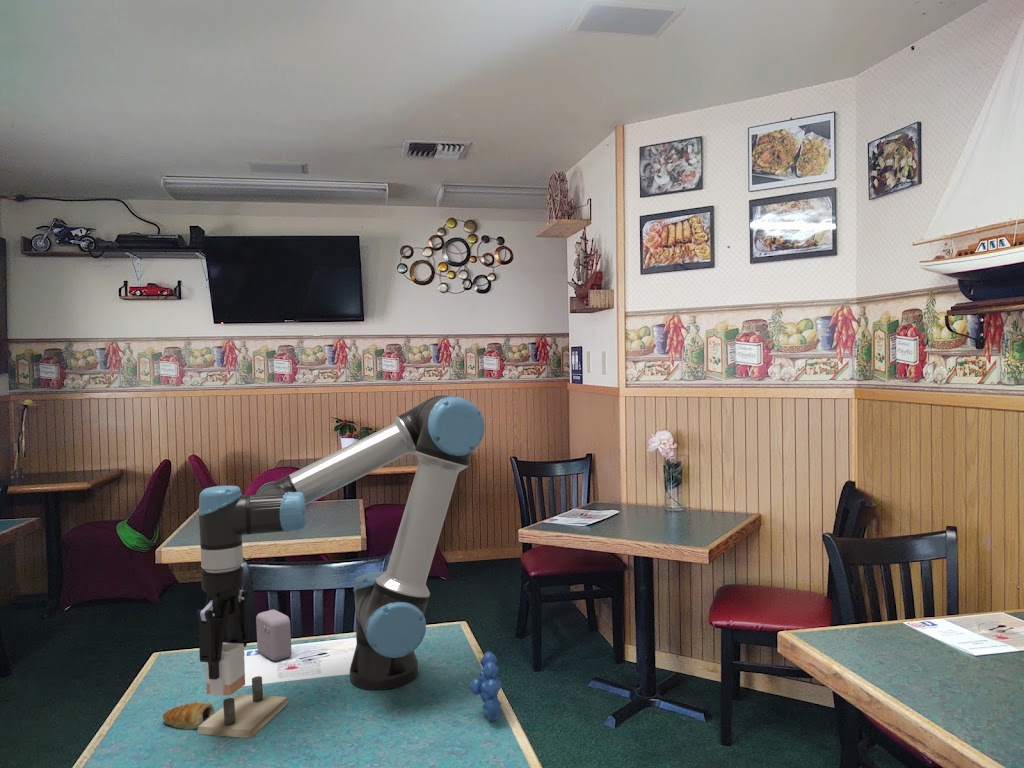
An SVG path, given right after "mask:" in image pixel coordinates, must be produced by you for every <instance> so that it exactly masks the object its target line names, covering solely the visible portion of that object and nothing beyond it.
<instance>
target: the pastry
mask: <svg viewBox="0 0 1024 768" xmlns="http://www.w3.org/2000/svg"><path fill="white" fill-rule="evenodd" d="M213 714H215V708H214V706H213V704H212V703H210V701H209V702H207V703H204V702H197V701H194V702H191V703H185V704H181V705H179V706H175V707H173V708H171V709H169V710H167V711H166V712H164V713H163V714H162V719H163V722H164V723H165V724H166V725H167V726H171V727H172V728H175V729H183V730H198V726H199V725H201V724H202V723H203V722H204V721H206V720H207V719H208V718H210V717H211V716H212V715H213Z"/></svg>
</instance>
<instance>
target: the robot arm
mask: <svg viewBox="0 0 1024 768" xmlns="http://www.w3.org/2000/svg"><path fill="white" fill-rule="evenodd" d="M484 434H485V420H484V417H483V414H482V413H481V410H480V409H479V408H478V407H477V406H476V405H475V404H474V403H473V402H471V401H470V400H468V399H466V398H463V397H460V396H456V395H452V396H449V395H436V396H433V397H430V398H428V399H426V400H424V401H423V402H421V403H420V404H418V405H416V406H414V407H412V408H411V409H409V410H407V411H405V412H404V413H402V414H400V415H397V416H396V417H395V419H394V422H393V423H392V424H390V425H388V426H386V427H384V428H382V429H380V430H378V431H376V432H373V433H371V434H370V435H368V436H365V437H363V438H361V439H359V440H357V441H354V442H352V443H351V444H349V445H347V446H345V447H343V448H341V449H339V450H337V451H334V452H332V453H331V454H329V455H326V456H325V457H323V458H320V459H318V460H316V461H314V462H312V463H310V464H309V465H306V466H304V467H303V468H300V469H299V470H296V471H293V472H292V473H290V474H288V475H286V476H284V477H282V478H280V479H278V480H276V481H269V482H267V483H264V484H263V485H261V487H259V489H257V491H256V494H255V495H242V492H241V491H242V490H241V488H240V487H239V486H238V485H217V486H211V487H207V488H203V489H202V491H201V492H200V494H198V495H199V498H198V499H199V501H198V521H199V541H200V543H199V544H200V562H201V563H200V564H201V565H200V567H201V568H202V571H201V573H200V574H201V580H200V581H201V590H202V591H203V592H205V593H206V594H207V597H206V603H205V606H204V608H203V609H197V610H196V618H197V621H198V638H199V640H198V644H199V662H200V663H206V662H208V669H209V680H210V694H209V695H212V696H225V695H224V694H225V676H224V660H221V654H222V645H223V643H224V635H225V633H226V636H227V641H228V642H227V643H240V644H244V648H246V647H247V645H248V642H247V640H249V624H248V623H249V622H248V620H249V618H248V616H249V615H248V598H249V591H248V590H245V589H240V588H242V586H243V585H244V580H245V579H244V567H243V566H242V565H243V563H244V552H243V535H244V536H245V535H246V536H249V535H257V534H268V533H270V534H271V533H281V532H286V533H289V532H293V531H297V530H302V529H304V528H305V526H306V524H307V523H306V521H307V520H306V519H307V515H306V514H307V512H306V506H307V505H309V504H311V503H313V502H315V501H318V500H319V499H322V498H323V497H325V496H327V495H329V494H330V493H333V492H335V491H337V490H339V489H341V488H343V487H345V486H347V485H349V484H352V483H353V482H355V481H357V480H359V479H360V478H363V477H365V476H367V475H369V474H371V473H373V472H375V471H377V470H379V469H381V468H382V467H385V466H387V465H389V464H390V463H393V462H395V461H397V460H398V459H401V458H402V457H405V456H407V455H409V454H410V455H413V456H416V457H417V459H418V463H417V467H416V471H415V474H414V478H413V481H412V484H411V488H410V490H409V494H408V497H407V501H406V504H405V507H404V510H403V513H402V518H401V521H400V523H399V524H400V525H399V527H398V530H397V534H396V537H395V541H394V544H393V548H392V550H391V554H390V557H389V560H388V564H387V567H386V570H383V571H375V572H369V573H365V574H361V575H358V576H357V577H356V578H355V580H354V583H353V584H354V587H353V590H352V591H353V593H354V610H355V611H354V612H355V614H354V615H355V635H356V636H355V637H356V644H355V649H354V653H353V656H352V661H351V664H350V667H349V680H350V683H351V684H352V685H354V686H355V687H357V688H360V689H365V690H387V689H392V688H397V687H401V686H403V685H405V684H408V683H411V681H413V680H415V679H416V678H417V676H418V675H419V661H418V658H417V655H416V652H415V650H416V649H417V648H418V647H419V646H420V645H421V644H422V642H423V640H424V638H425V636H426V631H427V624H426V623H427V621H426V618H425V612H426V609H427V606H428V602H429V598H430V597H431V592H430V591H429V588H428V586H427V579H428V577H429V573H430V570H431V567H432V564H433V560H434V556H435V554H436V549H437V548H438V547H437V546H438V543H439V539H440V536H441V532H442V530H443V526H444V522H445V519H446V516H447V513H448V509H449V505H450V503H451V500H452V495H453V493H454V489H455V485H456V483H457V478H458V476H459V473H460V472H462V471H463V470H465V469H467V468H468V467H469V463H470V460H471V456H472V455H473V451H475V450H476V449H477V448H478V447H479V445H480V444H481V443H482V441H483V438H484V436H485V435H484ZM225 631H226V632H225Z"/></svg>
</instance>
